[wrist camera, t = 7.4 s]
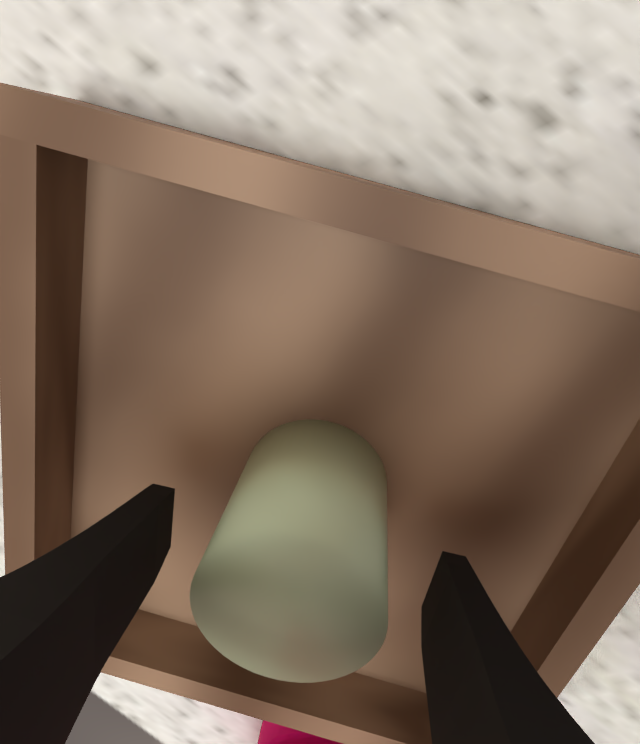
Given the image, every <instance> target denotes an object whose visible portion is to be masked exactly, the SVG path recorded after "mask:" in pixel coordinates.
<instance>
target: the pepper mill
mask: <svg viewBox="0 0 640 744" xmlns="http://www.w3.org/2000/svg"><path fill="white" fill-rule="evenodd" d="M258 744H343V743H339V742H336V741H332V740H329V739H326V738H322V737H319V736H315V735H312V734H309V733H305V732H302V731H299V730H295V729H292V728H288V727H285V726H282V725H278V724H275V723H271V722H268V721H265V720H263V723H262V727H261V731H260V736H259V740H258Z"/></svg>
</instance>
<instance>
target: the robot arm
mask: <svg viewBox="0 0 640 744" xmlns="http://www.w3.org/2000/svg"><path fill="white" fill-rule="evenodd" d="M174 496H175V488H171V487H166V486H162V485H158V484H151V485H150V486H148V487H147V488H145V489H144V490H142V491H141V492H140V493H138V494H137V495H135V496H134V497H133V498H131V499H130V500H128V501H127V502H125V503H124V504H123V505H121V506H120V507H118V508H117V509H115V510H114V511H113V512H111V513H110V514H108V515H107V516H105V517H104V518H102V519H101V520H99V521H98V522H96V523H95V524H93V525H92V526H90V527H89V528H87V529H86V530H84V531H83V532H81V533H79V534H78V535H76V536H75V537H73V538H71V539H70V540H68V541H66V542H65V543H63V544H61V545H60V546H58V547H56V548H55V549H53V550H51V551H50V552H48V553H46V554H44V555H43V556H41V557H39V558H37V559H35V560H33V561H32V562H30V563H28V564H26V565H24V566H22V567H20V568H18V569H16V570H14V571H12V572H10V573H8V574H6V575H4V576H2V577H0V744H65V742H66V740H67V738H68V736H69V734H70V732H71V730H72V727H73V725H74V723H75V721H76V719H77V717H78V715H79V713H80V711H81V709H82V707H83V705H84V703H85V701H86V699H87V697H88V695H89V693H90V691H91V689H92V687H93V685H94V683H95V681H96V679H97V677H98V676H99V674H100V672H101V670H102V668H103V667H104V665H105V663H106V661H107V660H108V658H109V656H110V655H111V653H112V652H113V650H114V648H115V647H116V645H117V643H118V642H119V640H120V638H121V637H122V635H123V634H124V632H125V630H126V629H127V627H128V625H129V624H130V622H131V620H132V619H133V617H134V616H135V614H136V612H137V611H138V609H139V607H140V606H141V604H142V602H143V601H144V599H145V597H146V596H147V594H148V592H149V591H150V589H151V587H152V586H153V584H154V582H155V580H156V578H157V576H158V574H159V572H160V569H161V567H162V565H163V563H164V561H165V558H166V556H167V554H168V552H169V550H170V547H171V536H172V523H173V509H174ZM421 649H422V658H423V668H424V677H425V686H426V694H427V703H428V712H429V720H430V729H431V738H432V744H595V743H594V742H593V741H592V740H591V739H590V738H589V737H588V735H587V734H586V733H585V732H584V731H583V730H582V729H581V727H580V726H579V725H578V724H577V723H576V721H575V720H574V719H573V718H572V717H571V715H570V714H569V713H568V712H567V710H566V709H565V708H564V706H563V705H562V704H561V703H560V701H559V700H558V699H557V698H556V696H555V695H554V694H553V692H552V691H551V690H550V689H549V687H548V686H547V685H546V683H545V682H544V681H543V679H542V678H541V677H540V675H539V674H538V672H537V671H536V670H535V668H534V667H533V665H532V664H531V662H530V661H529V659H528V658H527V657H526V655H525V654H524V652H523V651H522V649H521V648H520V646H519V645H518V643H517V642H516V640H515V639H514V637H513V635H512V634H511V632H510V631H509V629H508V627H507V626H506V624H505V622H504V621H503V619H502V618H501V616H500V614H499V613H498V611H497V609H496V608H495V606H494V604H493V603H492V601H491V599H490V598H489V596H488V594H487V592H486V591H485V589H484V587H483V585H482V584H481V582H480V580H479V578H478V577H477V575H476V573H475V571H474V570H473V568H472V566H471V564H470V563H469V561H468V559H467V558H466V556H462V555H458V554H454V553H449V552H445V551H442V553H441V556H440V559H439V561H438V564H437V567H436V569H435V572H434V575H433V577H432V580H431V583H430V585H429V588H428V591H427V593H426V596H425V599H424V601H423V604H422V607H421Z"/></svg>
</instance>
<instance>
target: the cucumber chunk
mask: <svg viewBox="0 0 640 744" xmlns="http://www.w3.org/2000/svg"><path fill="white" fill-rule="evenodd" d="M190 606H191V610H192V614H193V617H194V619H195V622H196V624H197V625H198V627H199V629H200V631H201V632H202V634H203V635H204V636H205V638H206V639H207V640H208V641H209V642H210V644H211V645H212V646H213V647H214V648H215V649H216V650H218V651H219V652H220V653H221V654H222V655H223V656H225V657H226V658H228V659H229V660H231V661H232V662H234V663H235V664H237V665H239V666H241V667H243V668H245V669H247V670H249V671H251V672H253V673H256V674H259V675H262V676H265V677H268V678H272V679H276V680H281V681H287V682H298V683H314V682H323V681H328V680H333V679H337V678H340V677H343V676H346V675H348V674H350V673H353V672H355V671H357V670H358V669H360V668H361V667H363V666H364V665H366V664H367V663H368V662H369V661H370V660H371V659H372V658H373V657H374V656H375V655H376V654H377V652H378V651H379V650H380V648H381V646H382V644H383V643H384V640H385V637H386V634H387V629H388V546H387V477H386V471H385V468H384V465H383V463H382V461H381V459H380V457H379V455H378V454H377V452H376V451H375V449H374V448H373V447H372V446H371V445H370V444H369V443H368V442H367V441H366V440H365V439H364V438H363V437H362V436H360V435H359V434H357V433H356V432H354V431H353V430H351V429H349V428H347V427H345V426H342V425H339V424H336V423H333V422H329V421H324V420H316V419H306V420H297V421H293V422H289V423H286V424H283V425H281V426H278V427H276V428H275V429H273V430H271V431H270V432H268V433H267V434H266V435H265V436H264V437H263V438H262V439H261V440H260V441H259V442H258V443H257V444H256V446H255V447H254V449H253V451H252V453H251V455H250V457H249V459H248V461H247V463H246V465H245V468H244V470H243V472H242V474H241V476H240V478H239V480H238V482H237V485H236V487H235V489H234V491H233V493H232V495H231V497H230V500H229V502H228V504H227V506H226V508H225V510H224V512H223V514H222V517H221V519H220V521H219V523H218V525H217V527H216V529H215V531H214V534H213V536H212V538H211V540H210V542H209V544H208V546H207V548H206V551H205V553H204V555H203V557H202V559H201V561H200V563H199V566H198V568H197V570H196V572H195V574H194V576H193V579H192V583H191V587H190Z"/></svg>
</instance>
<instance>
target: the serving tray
mask: <svg viewBox="0 0 640 744" xmlns="http://www.w3.org/2000/svg"><path fill="white" fill-rule="evenodd" d="M0 408H1V443H2V477H3V512H4V547H5V575H6V574H8V573H10V572H12V571H14V570H16V569H18V568H20V567H22V566H24V565H26V564H28V563H30V562H32V561H33V560H35V559H37V558H39V557H41V556H43V555H44V554H46V553H48V552H50V551H51V550H53V549H55V548H56V547H58V546H60V545H61V544H63V543H65V542H66V541H68V540H70V539H71V538H73V537H75V536H76V535H78V534H79V533H81V532H83V531H84V530H86V529H87V528H89V527H90V526H92V525H93V524H95V523H96V522H98V521H99V520H101V519H102V518H104V517H105V516H107V515H108V514H110V513H111V512H113V511H114V510H115V509H117V508H118V507H120V506H121V505H123V504H124V503H125V502H127V501H128V500H130V499H131V498H133V497H134V496H135V495H137V494H138V493H140V492H141V491H142V490H144V489H145V488H147V487H148V486H150V485H151V484H158V485H162V486H166V487H171V488H175V496H174V509H173V523H172V536H171V547H170V550H169V552H168V554H167V556H166V558H165V561H164V563H163V565H162V567H161V569H160V572H159V574H158V576H157V578H156V580H155V582H154V584H153V586H152V587H151V589H150V591H149V592H148V594H147V596H146V597H145V599H144V601H143V602H142V604H141V606H140V607H139V609H138V611H137V612H136V614H135V616H134V617H133V619H132V620H131V622H130V624H129V625H128V627H127V629H126V630H125V632H124V634H123V635H122V637H121V638H120V640H119V642H118V643H117V645H116V647H115V648H114V650H113V652H112V653H111V655H110V656H109V658H108V660H107V661H106V663H105V665H104V667H103V668H102V670H101V672H102V673H105V674H109V675H112V676H115V677H119V678H122V679H126V680H129V681H132V682H136V683H139V684H143V685H146V686H149V687H153V688H156V689H160V690H163V691H166V692H170V693H173V694H176V695H180V696H183V697H187V698H190V699H193V700H197V701H200V702H204V703H207V704H210V705H214V706H217V707H221V708H224V709H227V710H231V711H234V712H237V713H241V714H244V715H248V716H251V717H254V718H258V719H261V720H265V721H268V722H271V723H275V724H278V725H282V726H285V727H288V728H292V729H295V730H299V731H302V732H305V733H309V734H312V735H315V736H319V737H322V738H326V739H329V740H332V741H336V742H339V743H343V744H432V738H431V729H430V720H429V712H428V703H427V694H426V686H425V677H424V668H423V658H422V649H421V607H422V604H423V601H424V599H425V596H426V593H427V591H428V588H429V585H430V583H431V580H432V577H433V575H434V572H435V569H436V567H437V564H438V561H439V559H440V556H441V553H442V551H445V552H449V553H454V554H458V555H462V556H466V558H467V559H468V561H469V563H470V564H471V566H472V568H473V570H474V571H475V573H476V575H477V577H478V578H479V580H480V582H481V584H482V585H483V587H484V589H485V591H486V592H487V594H488V596H489V598H490V599H491V601H492V603H493V604H494V606H495V608H496V609H497V611H498V613H499V614H500V616H501V618H502V619H503V621H504V622H505V624H506V626H507V627H508V629H509V631H510V632H511V634H512V635H513V637H514V639H515V640H516V642H517V643H518V645H519V646H520V648H521V649H522V651H523V652H524V654H525V655H526V657H527V658H528V659H529V661H530V662H531V664H532V665H533V667H534V668H535V670H536V671H537V672H538V674H539V675H540V677H541V678H542V679H543V681H544V682H545V683H546V685H547V686H548V687H549V689H550V690H551V691H552V692H553V694H554V695H555V696H556V698H557V697H558V696H559V694H560V693H561V692H562V690H563V689H564V688H565V686H566V685H567V683H568V682H569V681H570V679H571V678H572V676H573V675H574V674H575V672H576V671H577V670H578V668H579V667H580V665H581V664H582V663H583V661H584V660H585V658H586V657H587V656H588V654H589V653H590V652H591V650H592V649H593V647H594V646H595V645H596V643H597V642H598V641H599V639H600V638H601V636H602V635H603V634H604V632H605V631H606V629H607V628H608V627H609V625H610V624H611V623H612V621H613V620H614V618H615V617H616V616H617V614H618V613H619V611H620V610H621V609H622V607H623V606H624V605H625V603H626V602H627V600H628V599H629V598H630V596H631V595H632V593H633V592H634V591H635V589H636V588H637V587H638V585H639V584H640V255H638V254H634V253H631V252H627V251H623V250H620V249H616V248H612V247H609V246H605V245H602V244H598V243H594V242H591V241H587V240H583V239H580V238H576V237H573V236H569V235H565V234H562V233H558V232H554V231H551V230H547V229H543V228H540V227H536V226H533V225H529V224H525V223H522V222H518V221H514V220H511V219H507V218H504V217H500V216H496V215H493V214H489V213H485V212H482V211H478V210H474V209H471V208H467V207H464V206H460V205H456V204H453V203H449V202H445V201H442V200H438V199H435V198H431V197H427V196H424V195H420V194H416V193H413V192H409V191H405V190H402V189H398V188H395V187H391V186H387V185H384V184H380V183H376V182H373V181H369V180H366V179H362V178H358V177H355V176H351V175H347V174H344V173H340V172H336V171H333V170H329V169H326V168H322V167H318V166H315V165H311V164H307V163H304V162H300V161H297V160H293V159H289V158H286V157H282V156H278V155H275V154H271V153H267V152H264V151H260V150H257V149H253V148H249V147H246V146H242V145H238V144H235V143H231V142H228V141H224V140H220V139H217V138H213V137H209V136H206V135H202V134H199V133H195V132H191V131H188V130H184V129H180V128H177V127H173V126H169V125H166V124H162V123H159V122H155V121H151V120H148V119H144V118H140V117H137V116H133V115H130V114H126V113H122V112H119V111H115V110H111V109H108V108H104V107H100V106H97V105H93V104H90V103H86V102H82V101H79V100H75V99H71V98H66V97H62V96H57V95H53V94H48V93H44V92H39V91H35V90H30V89H26V88H22V87H17V86H13V85H8V84H4V83H0ZM306 419H316V420H324V421H329V422H333V423H336V424H339V425H342V426H345V427H347V428H349V429H351V430H353V431H354V432H356V433H357V434H359V435H360V436H362V437H363V438H364V439H365V440H366V441H367V442H368V443H369V444H370V445H371V446H372V447H373V448H374V449H375V451H376V452H377V454H378V455H379V457H380V459H381V461H382V463H383V465H384V468H385V471H386V477H387V546H388V629H387V634H386V637H385V640H384V643H383V644H382V646H381V648H380V650H379V651H378V652H377V654H376V655H375V656H374V657H373V658H372V659H371V660H370V661H369V662H368V663H367V664H366V665H364V666H363V667H361V668H360V669H358V670H357V671H355V672H353V673H350V674H348V675H346V676H343V677H340V678H337V679H333V680H328V681H323V682H314V683H298V682H287V681H281V680H276V679H272V678H268V677H265V676H262V675H259V674H256V673H253V672H251V671H249V670H247V669H245V668H243V667H241V666H239V665H237V664H235V663H234V662H232V661H231V660H229V659H228V658H226V657H225V656H223V655H222V654H221V653H220V652H219V651H218V650H216V649H215V648H214V647H213V646H212V645H211V644H210V642H209V641H208V640H207V639H206V638H205V636H204V635H203V634H202V632H201V631H200V629H199V627H198V625H197V624H196V622H195V619H194V617H193V614H192V610H191V606H190V587H191V583H192V579H193V576H194V574H195V572H196V570H197V568H198V566H199V563H200V561H201V559H202V557H203V555H204V553H205V551H206V548H207V546H208V544H209V542H210V540H211V538H212V536H213V534H214V531H215V529H216V527H217V525H218V523H219V521H220V519H221V517H222V514H223V512H224V510H225V508H226V506H227V504H228V502H229V500H230V497H231V495H232V493H233V491H234V489H235V487H236V485H237V482H238V480H239V478H240V476H241V474H242V472H243V470H244V468H245V465H246V463H247V461H248V459H249V457H250V455H251V453H252V451H253V449H254V447H255V446H256V444H257V443H258V442H259V441H260V440H261V439H262V438H263V437H264V436H265V435H266V434H267V433H268V432H270V431H271V430H273V429H275V428H276V427H278V426H281V425H283V424H286V423H289V422H293V421H297V420H306Z"/></svg>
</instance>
